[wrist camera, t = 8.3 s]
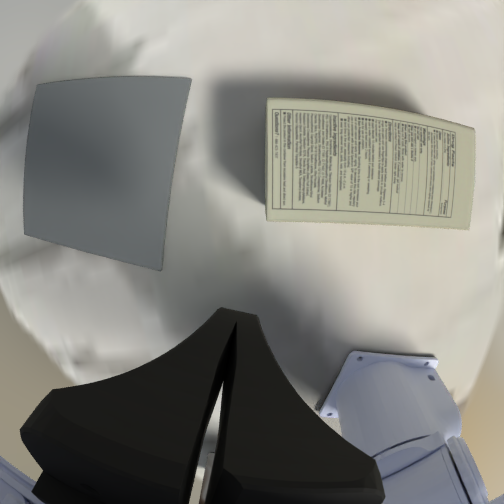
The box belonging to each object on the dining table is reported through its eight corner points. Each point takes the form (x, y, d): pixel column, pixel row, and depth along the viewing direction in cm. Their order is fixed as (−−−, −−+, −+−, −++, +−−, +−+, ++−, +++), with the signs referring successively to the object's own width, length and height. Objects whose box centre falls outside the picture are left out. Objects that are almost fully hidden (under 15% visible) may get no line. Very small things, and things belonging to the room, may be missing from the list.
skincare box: (263, 209, 18) (435, 221, 17) (262, 223, 14) (470, 237, 13) (266, 106, 16) (441, 131, 15) (265, 89, 12) (478, 128, 11)
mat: (191, 79, 16) (190, 78, 15) (161, 269, 20) (160, 271, 19) (39, 85, 15) (37, 84, 15) (26, 233, 20) (24, 234, 19)
